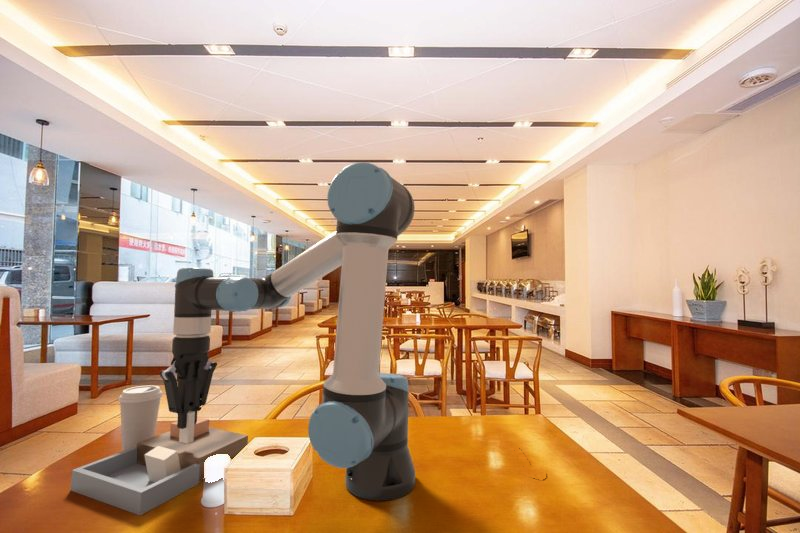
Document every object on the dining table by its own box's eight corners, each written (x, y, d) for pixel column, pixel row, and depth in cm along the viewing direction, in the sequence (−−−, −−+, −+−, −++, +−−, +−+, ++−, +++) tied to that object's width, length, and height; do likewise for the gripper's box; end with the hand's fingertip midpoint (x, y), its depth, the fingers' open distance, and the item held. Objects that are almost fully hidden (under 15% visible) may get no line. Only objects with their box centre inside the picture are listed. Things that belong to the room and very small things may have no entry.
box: (198, 483, 79) (199, 464, 79) (139, 515, 67) (141, 492, 68) (133, 464, 87) (134, 447, 87) (70, 490, 75) (72, 470, 76)
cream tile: (177, 451, 78) (163, 460, 75) (181, 476, 79) (168, 486, 76) (158, 445, 80) (144, 454, 78) (162, 470, 81) (149, 480, 79)
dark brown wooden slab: (247, 456, 92) (248, 435, 92) (197, 482, 79) (198, 458, 79) (189, 442, 100) (190, 423, 100) (135, 464, 87) (136, 442, 87)
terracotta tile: (208, 431, 95) (209, 419, 95) (187, 439, 89) (188, 427, 89) (191, 427, 97) (192, 415, 97) (170, 435, 91) (170, 423, 92)
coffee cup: (136, 458, 90) (140, 395, 91) (104, 454, 92) (108, 392, 93) (168, 443, 99) (172, 385, 100) (138, 439, 101) (142, 383, 102)
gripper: (204, 331, 92) (199, 429, 91) (152, 337, 80) (145, 449, 79) (227, 333, 90) (222, 434, 88) (176, 339, 78) (170, 456, 76)
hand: (186, 441), depth 83 cm, fingers closed
